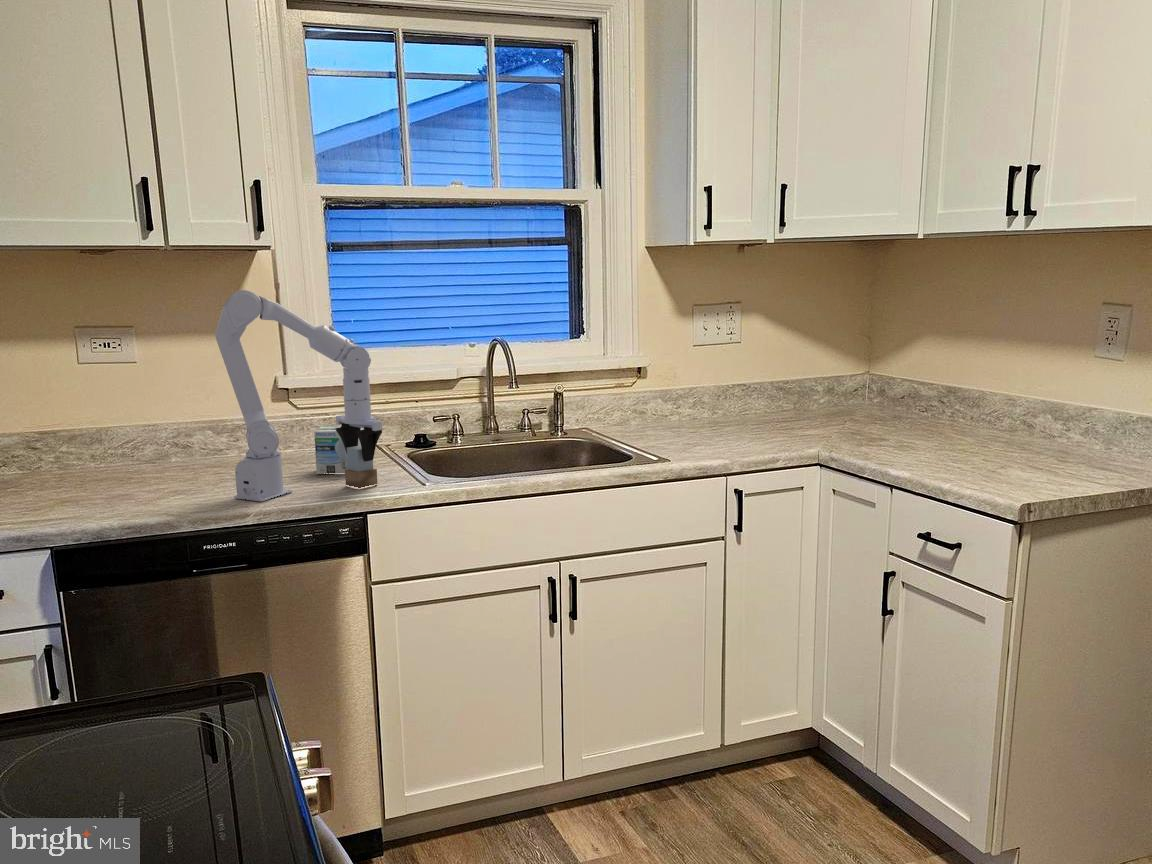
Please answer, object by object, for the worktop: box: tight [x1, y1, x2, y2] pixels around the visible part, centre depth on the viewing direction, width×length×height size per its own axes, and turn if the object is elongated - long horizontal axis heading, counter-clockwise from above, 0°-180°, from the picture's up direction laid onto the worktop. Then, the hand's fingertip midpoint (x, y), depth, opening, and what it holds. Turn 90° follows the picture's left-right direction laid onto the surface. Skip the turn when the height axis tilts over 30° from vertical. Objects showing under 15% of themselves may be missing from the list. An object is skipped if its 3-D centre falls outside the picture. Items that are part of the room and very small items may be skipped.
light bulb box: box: [314, 426, 364, 475], centre depth 216 cm, size 11×7×11 cm, turn 92°
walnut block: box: [344, 467, 378, 488], centre depth 201 cm, size 5×5×4 cm
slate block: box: [347, 445, 374, 472], centre depth 201 cm, size 4×4×5 cm
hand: (360, 458), depth 201 cm, fingers open, 5 cm apart
